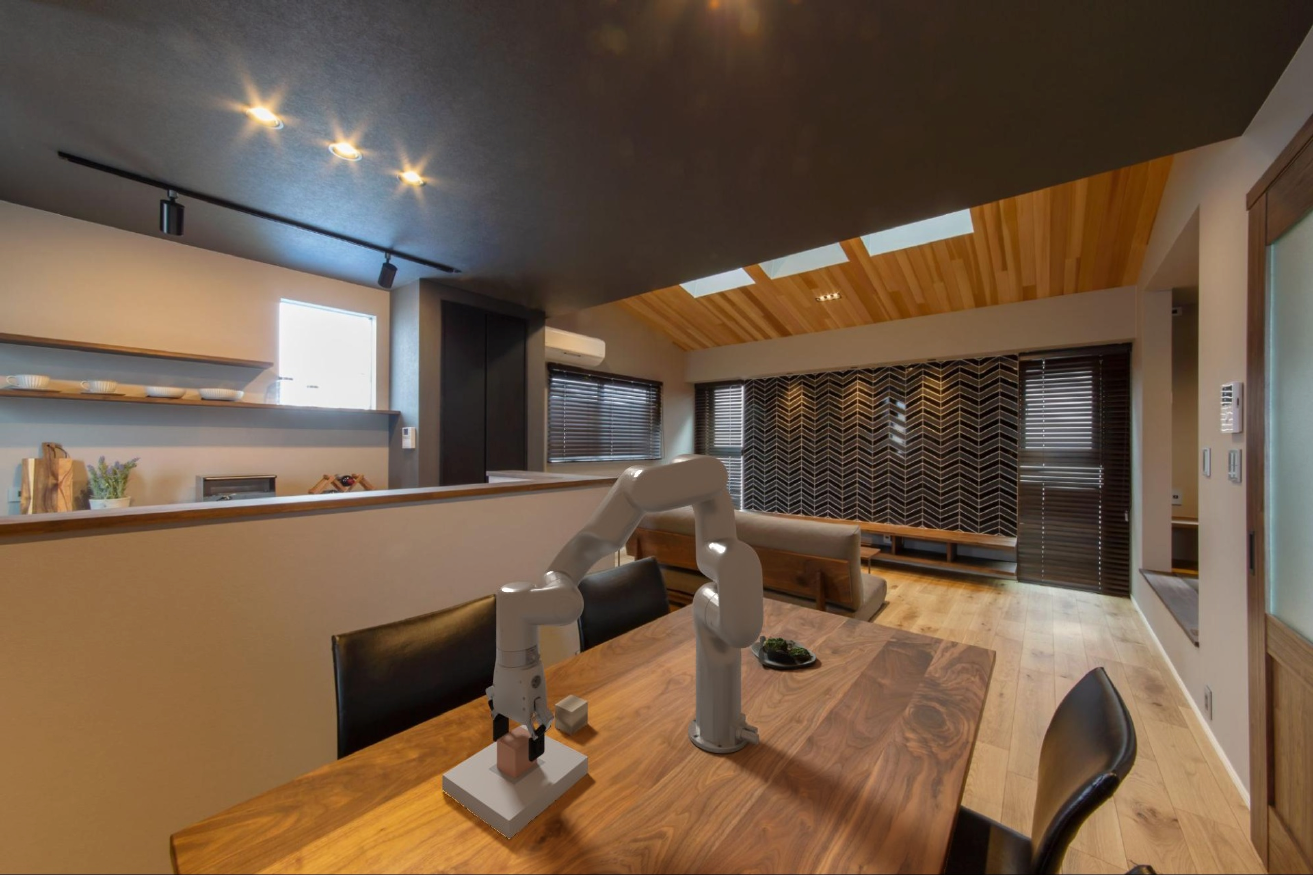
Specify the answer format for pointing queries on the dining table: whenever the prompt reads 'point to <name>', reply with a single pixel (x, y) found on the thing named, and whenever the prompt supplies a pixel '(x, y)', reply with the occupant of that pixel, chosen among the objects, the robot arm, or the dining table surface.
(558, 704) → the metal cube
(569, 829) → the dining table surface
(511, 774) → the terracotta cube
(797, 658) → the salad plate
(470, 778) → the grey base
